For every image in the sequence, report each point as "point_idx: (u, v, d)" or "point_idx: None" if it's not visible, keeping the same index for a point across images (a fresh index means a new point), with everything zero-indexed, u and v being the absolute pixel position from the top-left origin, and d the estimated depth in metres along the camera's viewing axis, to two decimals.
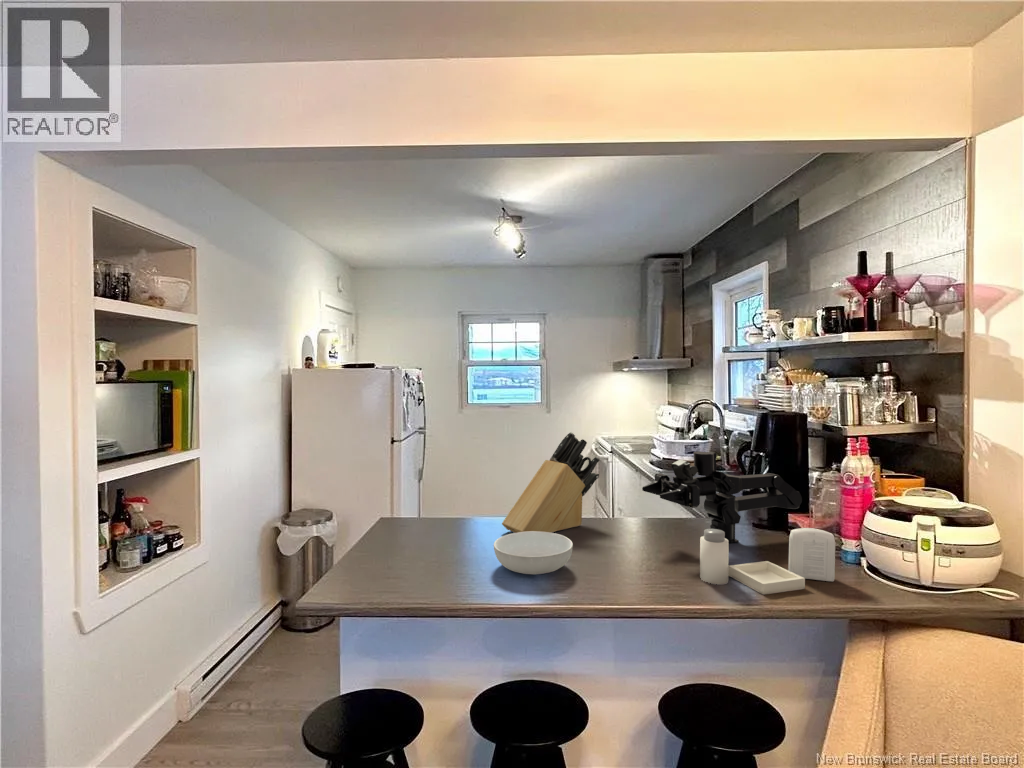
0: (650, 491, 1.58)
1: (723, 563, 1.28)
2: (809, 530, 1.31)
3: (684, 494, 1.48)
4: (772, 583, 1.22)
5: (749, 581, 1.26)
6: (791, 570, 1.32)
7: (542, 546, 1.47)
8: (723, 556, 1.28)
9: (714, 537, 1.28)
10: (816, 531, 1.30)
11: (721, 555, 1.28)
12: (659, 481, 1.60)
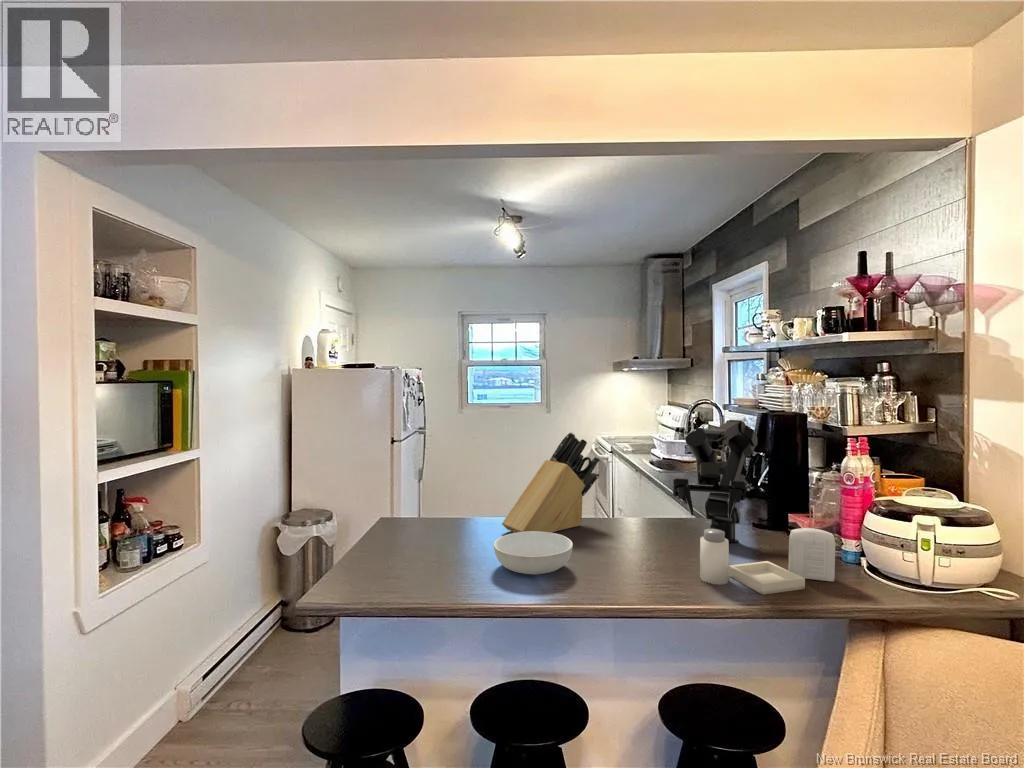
0: None
1: (723, 563, 1.28)
2: (809, 530, 1.31)
3: None
4: (772, 583, 1.22)
5: (749, 581, 1.26)
6: (791, 570, 1.32)
7: (542, 546, 1.47)
8: (723, 556, 1.28)
9: (714, 537, 1.28)
10: (816, 531, 1.30)
11: (721, 555, 1.28)
12: (689, 491, 1.43)
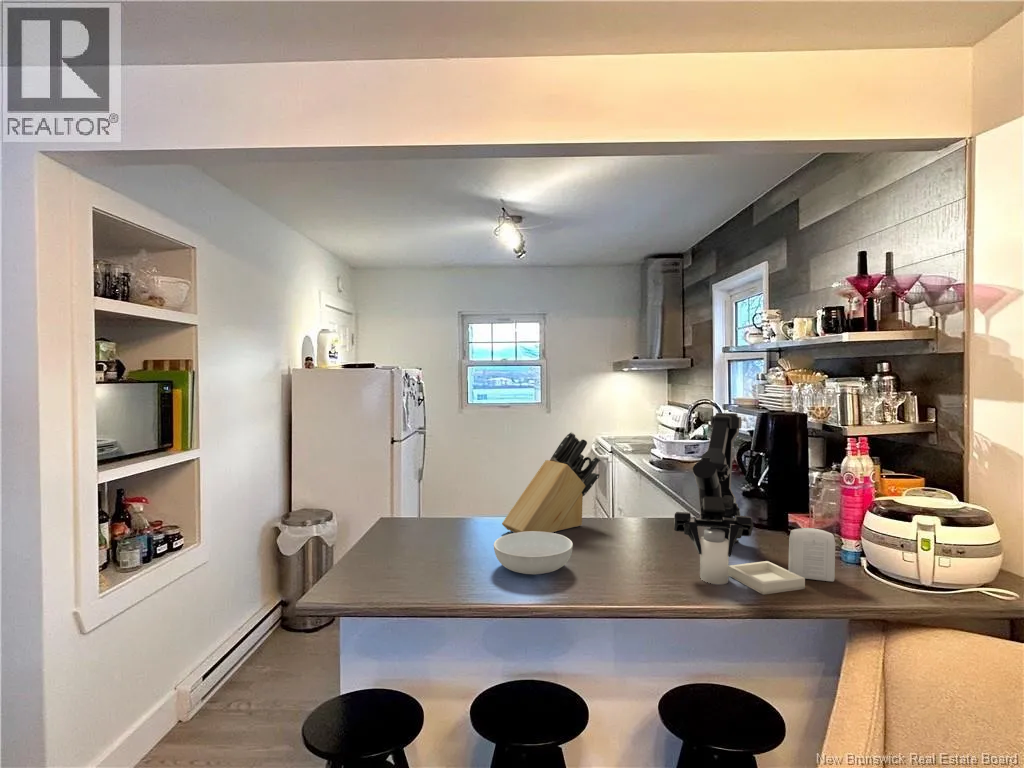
0: None
1: (723, 563, 1.28)
2: (809, 530, 1.31)
3: None
4: (772, 583, 1.22)
5: (749, 581, 1.26)
6: (791, 570, 1.32)
7: (542, 546, 1.47)
8: (723, 555, 1.28)
9: (714, 537, 1.28)
10: (816, 531, 1.30)
11: (721, 555, 1.27)
12: None
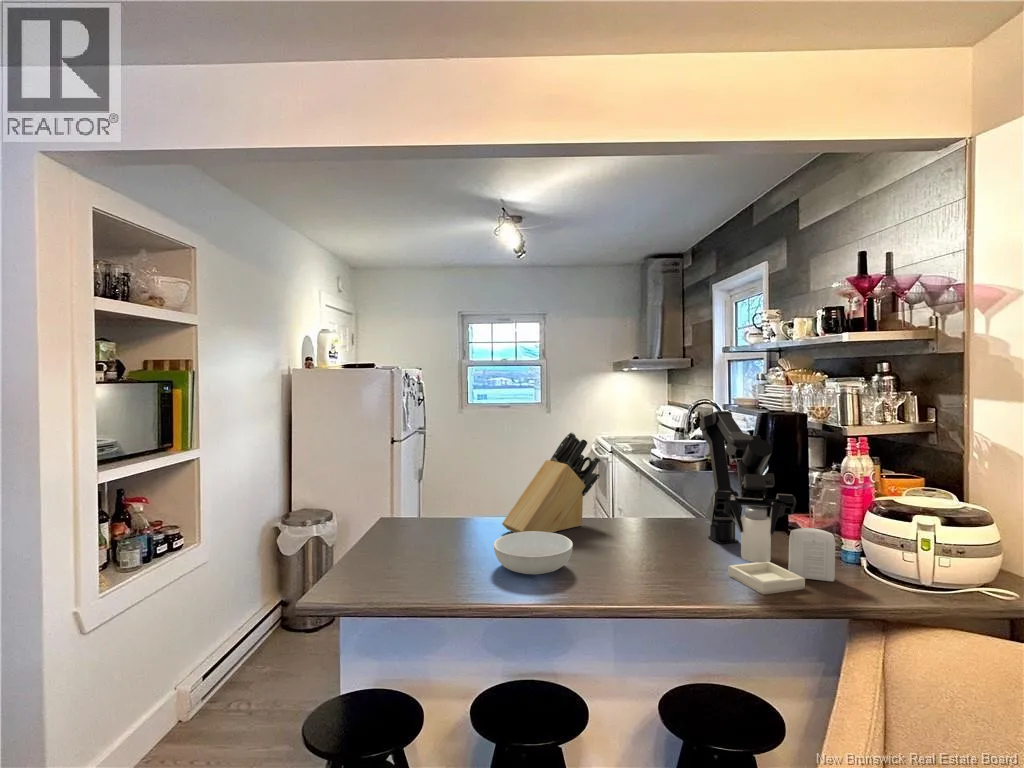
0: None
1: (765, 541, 1.26)
2: (809, 530, 1.31)
3: None
4: (772, 583, 1.22)
5: (749, 581, 1.26)
6: (791, 570, 1.32)
7: (542, 546, 1.47)
8: (765, 533, 1.26)
9: (756, 514, 1.27)
10: (816, 531, 1.30)
11: (763, 532, 1.26)
12: (737, 506, 1.32)
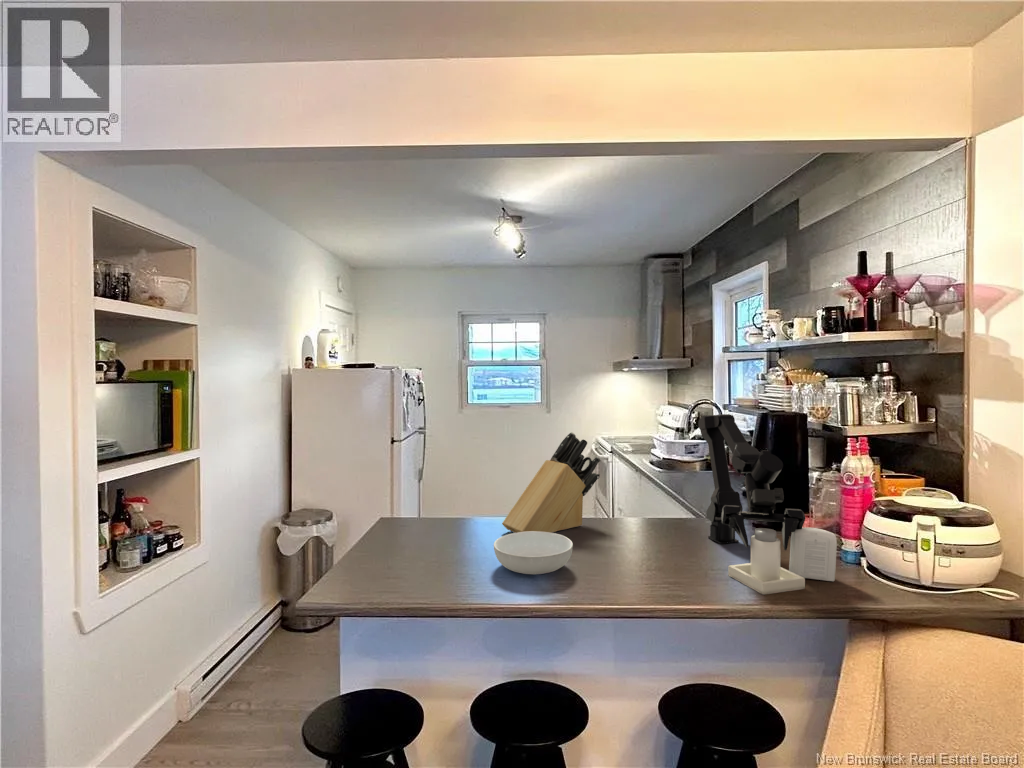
0: None
1: (775, 563, 1.26)
2: (811, 530, 1.31)
3: (791, 525, 1.30)
4: (772, 583, 1.22)
5: (749, 581, 1.26)
6: (792, 569, 1.32)
7: (542, 546, 1.47)
8: (775, 555, 1.26)
9: (766, 536, 1.27)
10: (818, 531, 1.30)
11: (773, 554, 1.26)
12: None
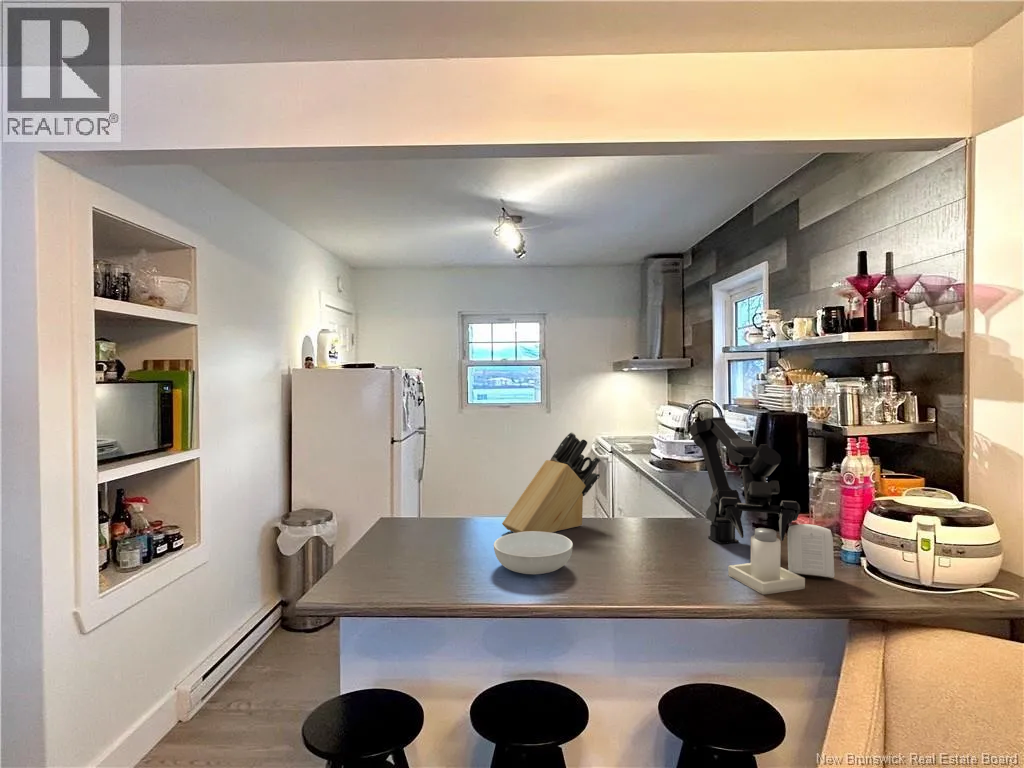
0: None
1: (775, 563, 1.26)
2: (806, 525, 1.34)
3: (788, 517, 1.34)
4: (772, 583, 1.22)
5: (749, 581, 1.26)
6: (791, 565, 1.33)
7: (542, 546, 1.47)
8: (775, 555, 1.26)
9: (766, 536, 1.27)
10: (813, 525, 1.33)
11: (773, 554, 1.26)
12: (738, 512, 1.36)
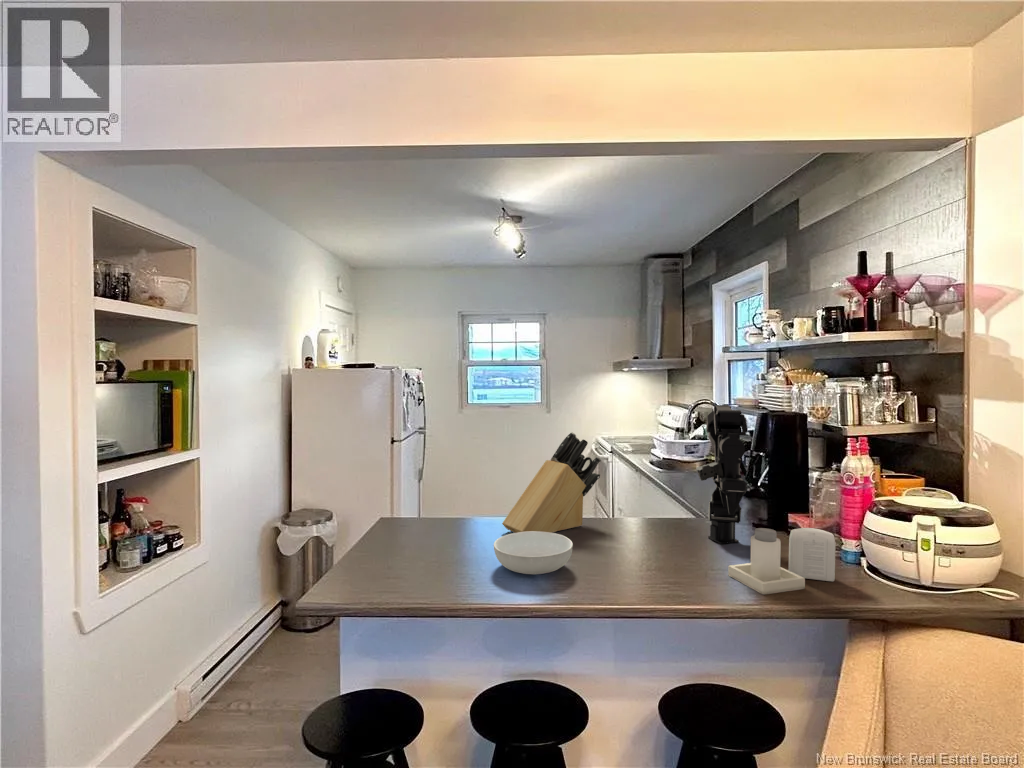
0: None
1: (775, 563, 1.26)
2: (809, 530, 1.31)
3: None
4: (772, 583, 1.22)
5: (749, 581, 1.26)
6: (791, 570, 1.32)
7: (542, 546, 1.47)
8: (775, 555, 1.26)
9: (766, 536, 1.27)
10: (816, 531, 1.30)
11: (773, 554, 1.26)
12: (719, 484, 1.52)
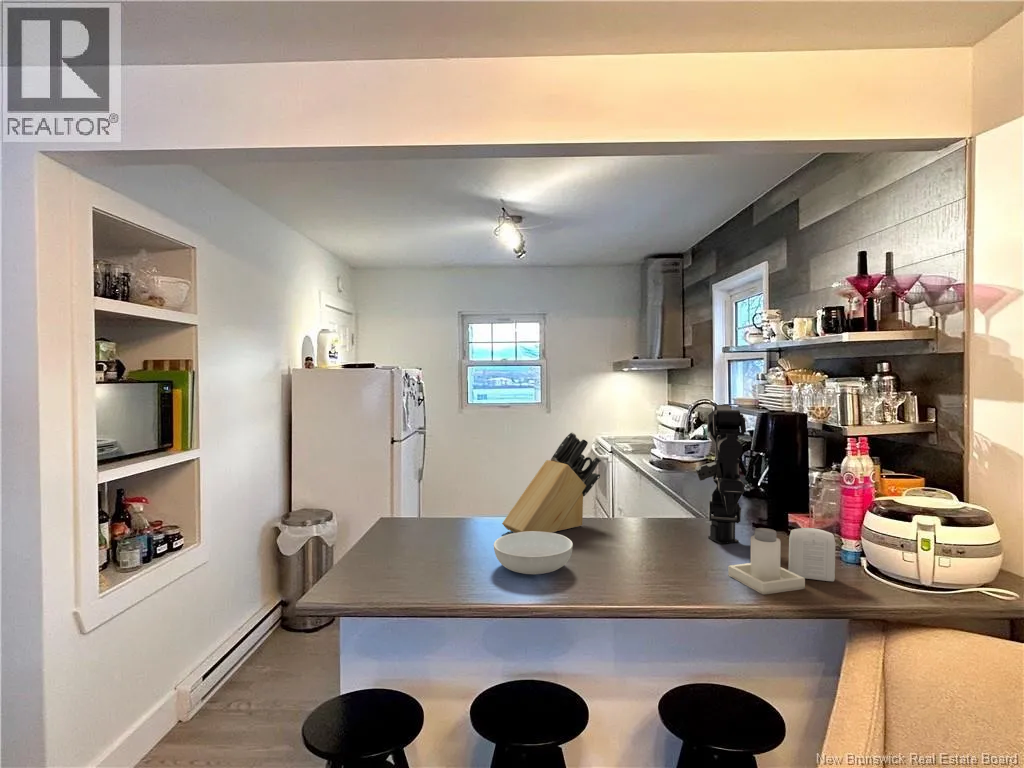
0: None
1: (775, 563, 1.26)
2: (809, 530, 1.31)
3: None
4: (772, 583, 1.22)
5: (749, 581, 1.26)
6: (791, 570, 1.32)
7: (542, 546, 1.47)
8: (775, 555, 1.26)
9: (766, 536, 1.27)
10: (816, 531, 1.30)
11: (773, 554, 1.26)
12: None
